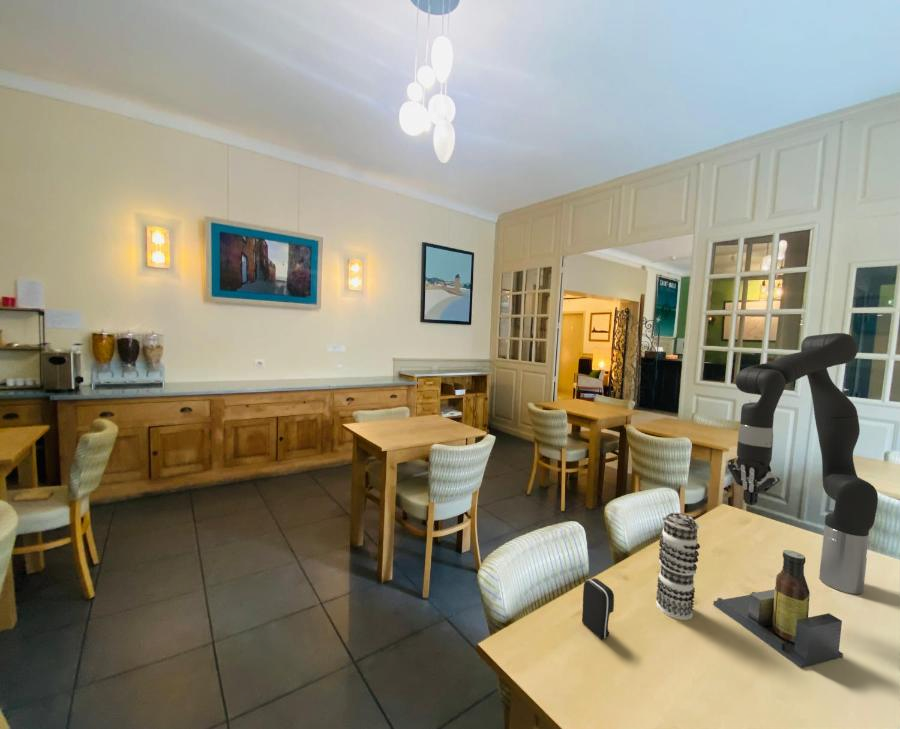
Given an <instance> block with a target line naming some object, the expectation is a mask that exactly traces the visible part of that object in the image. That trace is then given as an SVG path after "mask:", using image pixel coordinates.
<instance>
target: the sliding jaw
mask: <svg viewBox="0 0 900 729" xmlns="http://www.w3.org/2000/svg"><path fill="white" fill-rule="evenodd" d="M774 594H775V588H773V589H769V590H762V591H757V592H756V593H752V592H751V593H749V595H750V600H749V611H748V617H749V618H750V619H752V620H753V621H755V622H756V623H758V624H759V625H761V626H762V627H763V626H768V625H773V610H774Z"/></svg>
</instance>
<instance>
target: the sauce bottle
mask: <svg viewBox="0 0 900 729" xmlns="http://www.w3.org/2000/svg"><path fill="white" fill-rule="evenodd" d="M782 558H783V561H782V562H783V564H782V569H781V571H780V572H778V574H776V577H775V586H774V589H775V594H774V610H773V629H774V631H775V632H776V634H778V635H779V636H780V637H782V638H783V639H785V640H788V641H790V642H793V643H795V636H796V626H797V620H799V619H804V618H808V617H809V612H810V611H809V610H810V596H811V595H810V589H809V586H808V583H807V580H806V576H805V564H806V557H805V555H804V554H802V553H800V552H797V551H795V550H789V549H787V550H786V549H785V550H783V551H782Z"/></svg>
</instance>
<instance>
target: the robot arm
mask: <svg viewBox="0 0 900 729" xmlns="http://www.w3.org/2000/svg"><path fill="white" fill-rule="evenodd" d="M800 348H801V349H800V351H799V352H794V353H791V354H790V353H789V354H786V355H784V356H781V357H779V358H777V359H774V360H772V361H771V362H766V363H760V364H755V365H751V366H748V367H745V368H742V369H741V370H740V371H739V372H738V373H737V375H736V376H735V382H734V383H735V386H736V388H737V389H738V390H739V391H740V392H743V393H745V394H750V395H757V396H758V395H759V396H760V398H759V399H758V400H757V402H746V403H743V405H742V406H741V408H740V409H741V410H740V424H739V426H738V427H739V428H738V432H737V433H738V434H737V435H738V436H737V445H736V456H737V458H736V459H735V462H734V463H731V464H727V468H728V470H729V472H730V474H731V476H732V477H733V479H734V481H735V483H736V485H738V486H741V487H742V489H743V496H742V499H743V502H744V503H745V504H747V505H748V506H754V505H756V504H757V503H758V499H759V493H766V492H768V490H770V489H771V488H773V487H774V486H776V485H777V484H778V483H780V478H779V477H778V476H775V475H774V474H773V473H772V468H771V465H770V464H771V462H772V459H773V458H772V457H773V446H774V445H773V444H774V419H775V417H774V415H775V412H776V409H777V406H778V404H779V402H780V399H781V396H782V395H783V393H784V390H785V388H786V385H789V384H791V383H792V382H795V381H797V380H799V379H801V378H803V377H806V376H807V380H808V383H809V388H810V392H811V398H812V405H813V413H814V419H815V427H816V432H817V436H818V444H819V449H820V453H821V465H822V466H821V468H822V471H821V472H822V474H821V475H822V488H823V489H824V492H825V493H826V495H827V496H828V497H829V498H831V499H832V500H833V501H835V502H834V509H833V512H830V513H827V514H826V515H825V518H824V527H823V537H822V547H821V557H820V565H819V566H820V567H819V574H818V575H819V578H818V579H819V580H820V581H821V582H822V583H823V584H825V585H827V586H829V587H830V588H833V589H835V590H837V591H840V592H842V593H847V594H852V595H861V594H862V593H863V592H864V590H863V589H865V588H864V587H865V578H866V571H867V570H866V569H867V568H866V567H867V562H868V561H867V555H868V554H867V553H868V547H869V546H868V543H869V536H870V530H871V529H872V528H873V526H874V524H875V520H876V516H877V510H878V504H879V503H878V502H879V497H878V492H877V489H876V488H875V486H874V484H873V485H872V483H870V482H868V481H867V480H865V479H863V478H861V477H858V474H857V472H856V467H855V463H854V450H855V448H856V445H857V442H858V441H859V440H858V439H859V436H860V430H861V429H860V422H859V414H858V409H857V408H856V406H855V404H854V403H853V402H852V400H850V399H849V397H848V396H847V395H846V394H845V393H843V391H842V390H841V389H839V387H838V386H837V385H835V383H834V382H833V380H832V379H831V377H830V374H829V371H828V368H831V367H835V366H839V365H844V364H849V363H851V362H852V361H853V360H854V359H855V358H856V357H857V355H858V351H859V349H858V344H857V341H856V339H855V337H854V336H852V335H850V334H849V333H845V332H844V333H843V332H842V333H841V332H835V333H825V334H816V335H808V336H806V337H805V338H803V340H802V342H801V346H800Z"/></svg>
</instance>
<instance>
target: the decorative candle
mask: <svg viewBox="0 0 900 729" xmlns="http://www.w3.org/2000/svg"><path fill="white" fill-rule="evenodd" d="M662 520H663V521H664V523H663V528H662V532H661V533H660V535H659V554H658V555H659V557H658V560H659V564H660V570H659V576H658V577H657V589H656V597H655V599H656V601H655V604H656V607H657V609H658V610H659V611H660V612H662V613H663V614H664V615H666V616H668V617H671V618H672V619H676V620H681V621H688V620H690V619H692V618H693V613H694V612H693V611H694V609H693V608H694V606H695V603H694V602H695V601H694V599H695V592H696V588H695V580H694V577H695V576H694V575H695V574H696V573H697V569H698V567H697V564H696V563H698V562H699V558H698V557H699V556H700V553H699V551H698V550H699V549H700V548H701V545H700V543H698V541H699V540H698V538H699V537H698V530H699V528H700V525H699V524H698V523H697V522H696V521H695V520H694V518H693V517H692V516H690V515H688V514H685V513H682V512H681V513H680V512H669V513H668V514H667V515H665V516H663V519H662Z"/></svg>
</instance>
